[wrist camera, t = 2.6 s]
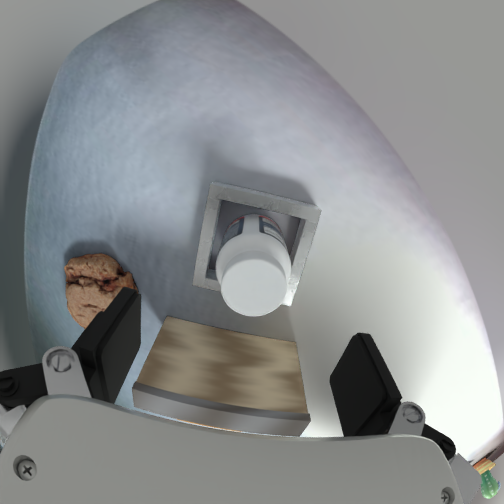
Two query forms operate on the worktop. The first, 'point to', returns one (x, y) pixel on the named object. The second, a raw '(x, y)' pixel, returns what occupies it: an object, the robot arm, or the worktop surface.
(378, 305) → the worktop surface
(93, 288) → the cookie
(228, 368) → the beige brown upright block
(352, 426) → the robot arm
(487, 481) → the potted cactus
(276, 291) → the pill bottle
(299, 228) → the collar
